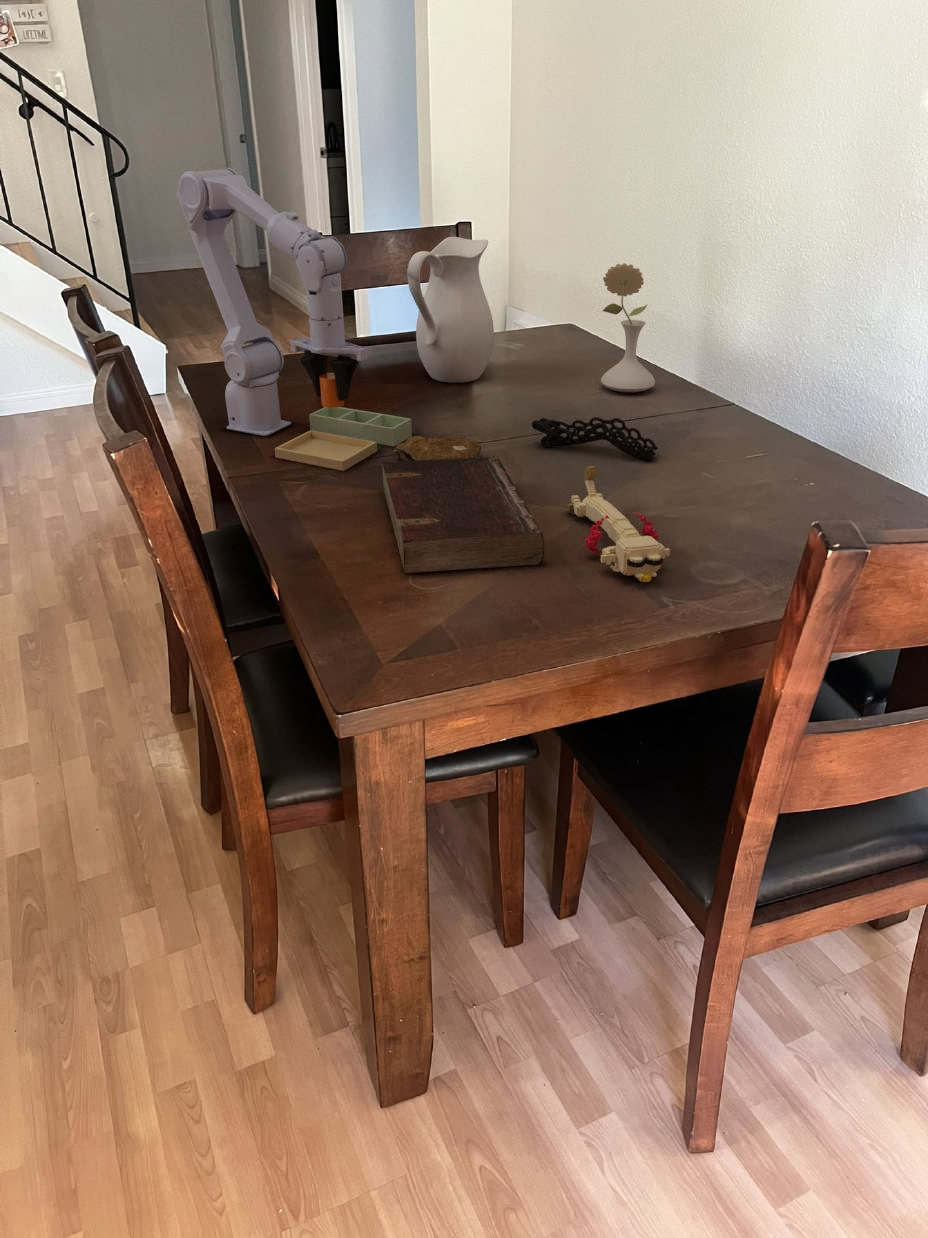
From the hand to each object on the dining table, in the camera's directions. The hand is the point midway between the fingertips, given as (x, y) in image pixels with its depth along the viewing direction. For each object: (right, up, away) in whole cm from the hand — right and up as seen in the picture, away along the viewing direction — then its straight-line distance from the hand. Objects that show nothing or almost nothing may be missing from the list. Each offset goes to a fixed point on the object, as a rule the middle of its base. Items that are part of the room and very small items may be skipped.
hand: (332, 397), depth 156 cm
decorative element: (+45, -9, +2) cm, 47 cm away
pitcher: (+19, +14, +41) cm, 47 cm away
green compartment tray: (+4, -4, +10) cm, 12 cm away
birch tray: (-1, -10, +1) cm, 10 cm away
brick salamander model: (+44, -29, -31) cm, 61 cm away
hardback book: (+22, -25, -25) cm, 41 cm away
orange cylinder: (0, -1, +1) cm, 1 cm away
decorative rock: (+18, -12, -3) cm, 22 cm away
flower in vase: (+57, +10, +35) cm, 67 cm away
